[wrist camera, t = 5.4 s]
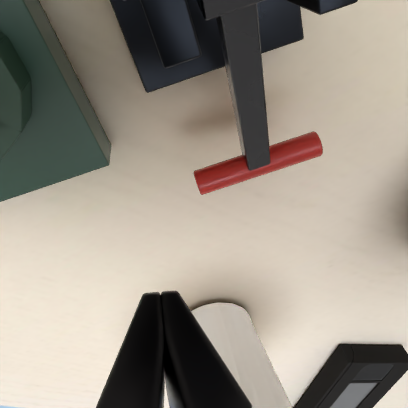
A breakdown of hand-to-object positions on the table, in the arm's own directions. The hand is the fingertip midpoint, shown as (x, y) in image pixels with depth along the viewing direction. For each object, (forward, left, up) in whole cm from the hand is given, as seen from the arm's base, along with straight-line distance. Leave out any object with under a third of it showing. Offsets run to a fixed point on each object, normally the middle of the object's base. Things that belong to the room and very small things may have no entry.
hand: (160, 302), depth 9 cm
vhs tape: (-37, -8, -13) cm, 40 cm away
